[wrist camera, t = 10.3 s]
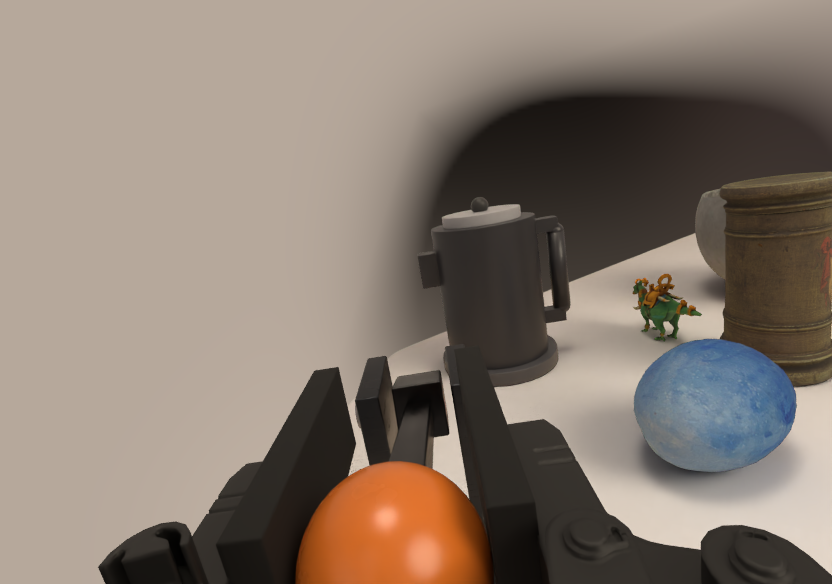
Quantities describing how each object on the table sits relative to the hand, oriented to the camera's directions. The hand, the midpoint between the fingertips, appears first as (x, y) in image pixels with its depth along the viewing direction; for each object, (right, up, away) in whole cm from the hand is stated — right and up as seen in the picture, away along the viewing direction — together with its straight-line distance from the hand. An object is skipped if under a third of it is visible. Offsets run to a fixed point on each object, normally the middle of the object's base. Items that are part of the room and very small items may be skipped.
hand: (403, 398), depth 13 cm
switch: (+1, -4, 0) cm, 4 cm away
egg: (+24, -8, +19) cm, 32 cm away
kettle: (+11, -5, +40) cm, 42 cm away
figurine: (+31, -3, +38) cm, 49 cm away
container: (+36, -4, +29) cm, 46 cm away
